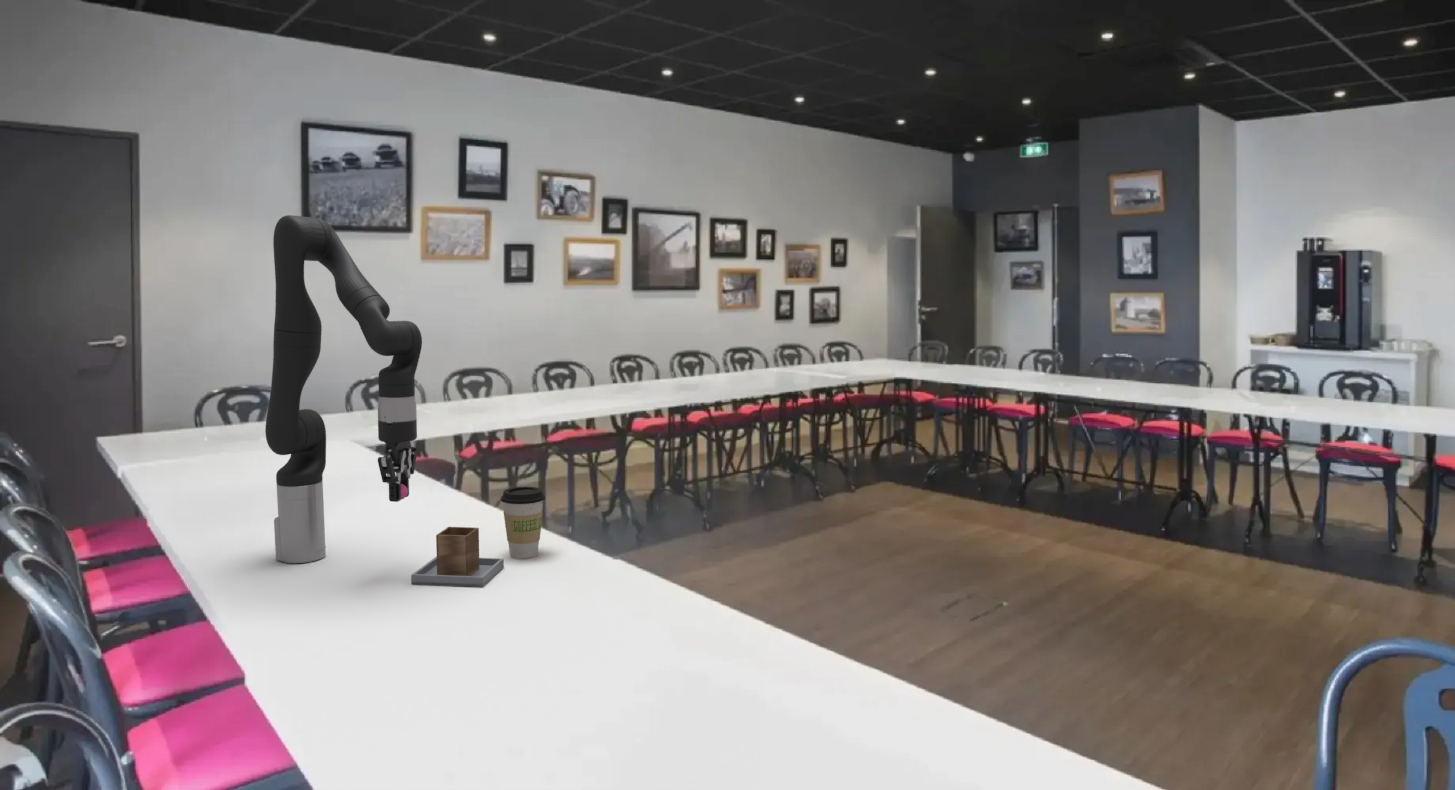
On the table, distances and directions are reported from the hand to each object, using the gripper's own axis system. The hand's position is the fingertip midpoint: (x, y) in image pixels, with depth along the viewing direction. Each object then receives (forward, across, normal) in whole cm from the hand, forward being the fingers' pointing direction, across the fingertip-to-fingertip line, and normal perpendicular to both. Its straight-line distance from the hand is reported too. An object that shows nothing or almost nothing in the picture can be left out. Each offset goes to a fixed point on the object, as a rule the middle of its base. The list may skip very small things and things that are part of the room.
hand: (399, 498), depth 184 cm
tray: (+16, -1, +12) cm, 20 cm away
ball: (-1, 0, 0) cm, 1 cm away
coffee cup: (+17, -17, +21) cm, 32 cm away
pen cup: (+16, -1, +12) cm, 20 cm away
